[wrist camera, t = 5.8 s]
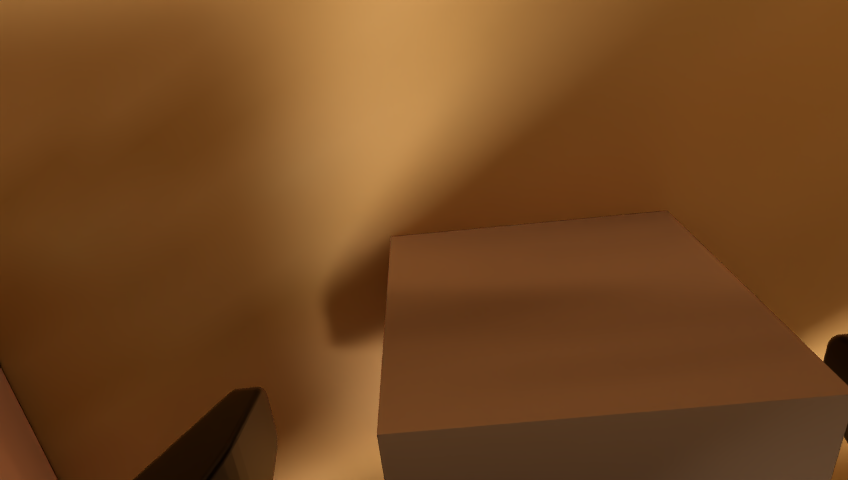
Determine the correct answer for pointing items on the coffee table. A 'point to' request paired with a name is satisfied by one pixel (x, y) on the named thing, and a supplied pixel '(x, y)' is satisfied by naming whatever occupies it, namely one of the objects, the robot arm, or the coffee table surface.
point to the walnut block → (593, 361)
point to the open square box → (19, 442)
